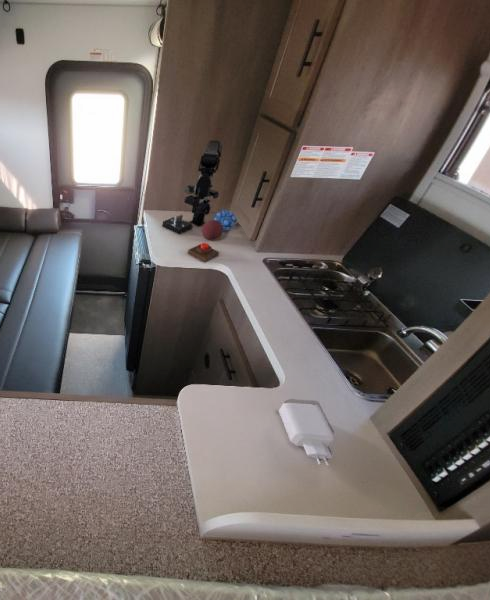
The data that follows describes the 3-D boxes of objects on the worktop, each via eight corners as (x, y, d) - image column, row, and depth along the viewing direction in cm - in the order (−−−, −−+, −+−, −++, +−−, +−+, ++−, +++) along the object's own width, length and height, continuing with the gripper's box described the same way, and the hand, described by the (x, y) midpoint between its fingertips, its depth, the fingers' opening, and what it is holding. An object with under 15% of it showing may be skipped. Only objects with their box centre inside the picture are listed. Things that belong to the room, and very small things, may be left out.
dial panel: (174, 221, 184) (175, 216, 182) (191, 229, 177) (192, 223, 175) (162, 226, 180) (163, 220, 178) (178, 234, 172) (179, 228, 170)
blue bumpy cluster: (213, 234, 172) (218, 213, 165) (209, 228, 178) (215, 207, 170) (235, 235, 172) (241, 213, 165) (231, 229, 177) (237, 208, 170)
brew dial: (179, 220, 178) (180, 213, 175) (181, 221, 177) (182, 214, 175) (173, 223, 176) (174, 215, 173) (175, 224, 175) (176, 216, 172)
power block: (201, 247, 161) (202, 240, 159) (218, 255, 155) (220, 248, 153) (187, 253, 156) (189, 246, 154) (204, 262, 150) (206, 255, 148)
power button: (203, 245, 155) (204, 242, 154) (209, 248, 153) (210, 245, 152) (198, 247, 154) (199, 244, 153) (205, 250, 152) (205, 247, 150)
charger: (299, 468, 78) (277, 412, 89) (339, 471, 77) (312, 415, 89) (307, 458, 75) (283, 402, 87) (349, 462, 74) (320, 404, 86)
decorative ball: (198, 234, 173) (202, 216, 166) (217, 234, 172) (222, 216, 166) (202, 243, 165) (206, 224, 159) (222, 243, 164) (227, 225, 158)
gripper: (203, 174, 161) (197, 204, 171) (178, 181, 152) (173, 213, 162) (222, 180, 154) (215, 211, 164) (197, 188, 145) (190, 221, 155)
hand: (198, 214), depth 161 cm, fingers closed
